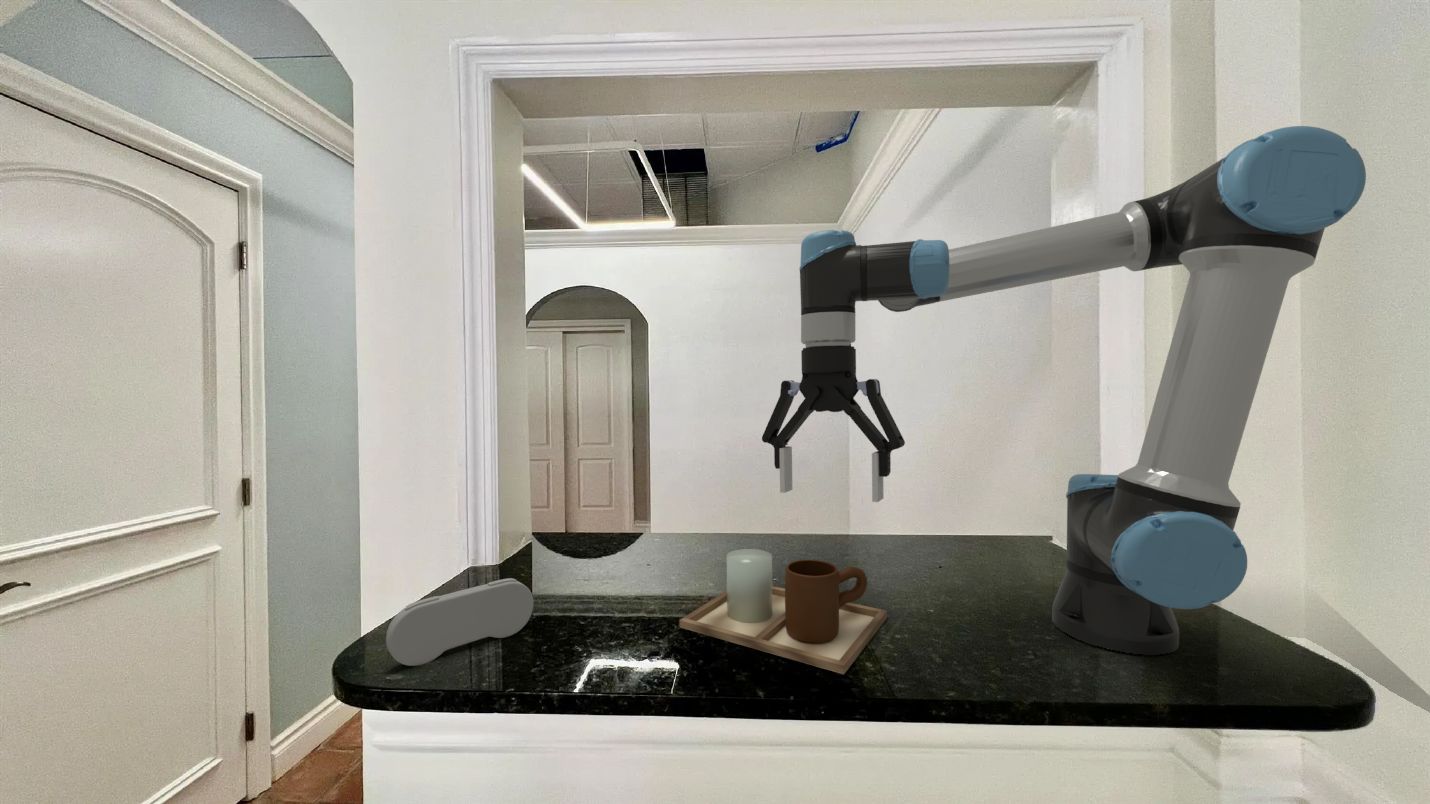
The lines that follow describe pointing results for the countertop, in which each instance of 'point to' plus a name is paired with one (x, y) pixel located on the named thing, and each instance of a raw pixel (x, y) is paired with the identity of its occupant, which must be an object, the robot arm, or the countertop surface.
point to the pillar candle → (749, 585)
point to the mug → (818, 598)
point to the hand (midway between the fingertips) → (830, 495)
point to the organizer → (775, 639)
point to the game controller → (458, 620)
